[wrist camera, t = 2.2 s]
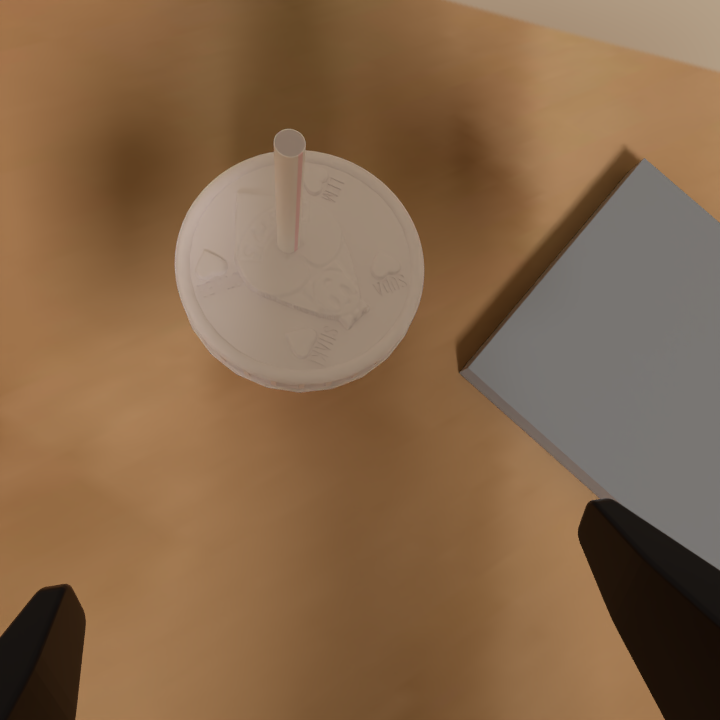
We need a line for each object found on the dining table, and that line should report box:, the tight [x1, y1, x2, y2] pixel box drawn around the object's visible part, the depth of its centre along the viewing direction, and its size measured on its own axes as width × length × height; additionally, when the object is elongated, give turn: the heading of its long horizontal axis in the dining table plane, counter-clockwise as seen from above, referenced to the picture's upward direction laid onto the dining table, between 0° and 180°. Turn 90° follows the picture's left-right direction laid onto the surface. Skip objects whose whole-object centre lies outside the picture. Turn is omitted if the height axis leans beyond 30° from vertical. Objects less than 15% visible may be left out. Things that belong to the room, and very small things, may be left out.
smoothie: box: [175, 129, 424, 393], centre depth 16 cm, size 6×6×14 cm
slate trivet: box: [459, 158, 720, 570], centre depth 24 cm, size 14×14×1 cm
